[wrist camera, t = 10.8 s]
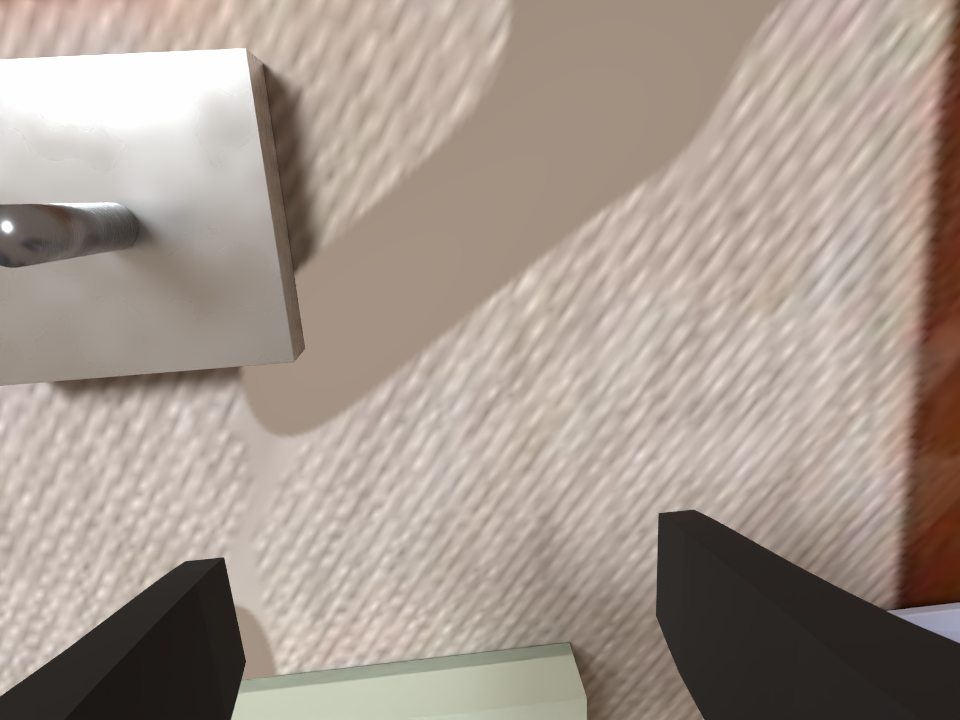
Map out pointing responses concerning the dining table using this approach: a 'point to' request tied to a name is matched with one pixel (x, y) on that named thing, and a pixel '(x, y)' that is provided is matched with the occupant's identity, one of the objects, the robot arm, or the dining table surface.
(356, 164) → the dining table surface
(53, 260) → the silver peg base
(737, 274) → the dining table surface
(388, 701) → the tray
